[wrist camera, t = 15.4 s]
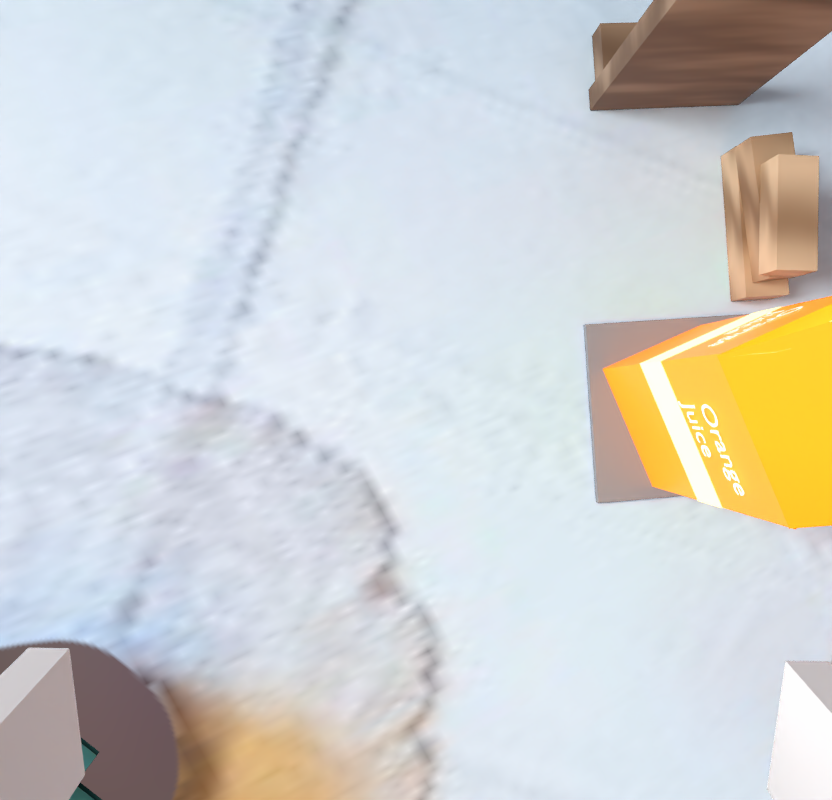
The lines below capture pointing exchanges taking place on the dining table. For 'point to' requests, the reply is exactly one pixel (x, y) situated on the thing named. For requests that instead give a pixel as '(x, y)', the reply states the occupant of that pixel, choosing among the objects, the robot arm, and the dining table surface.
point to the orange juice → (739, 413)
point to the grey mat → (611, 438)
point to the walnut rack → (728, 85)
